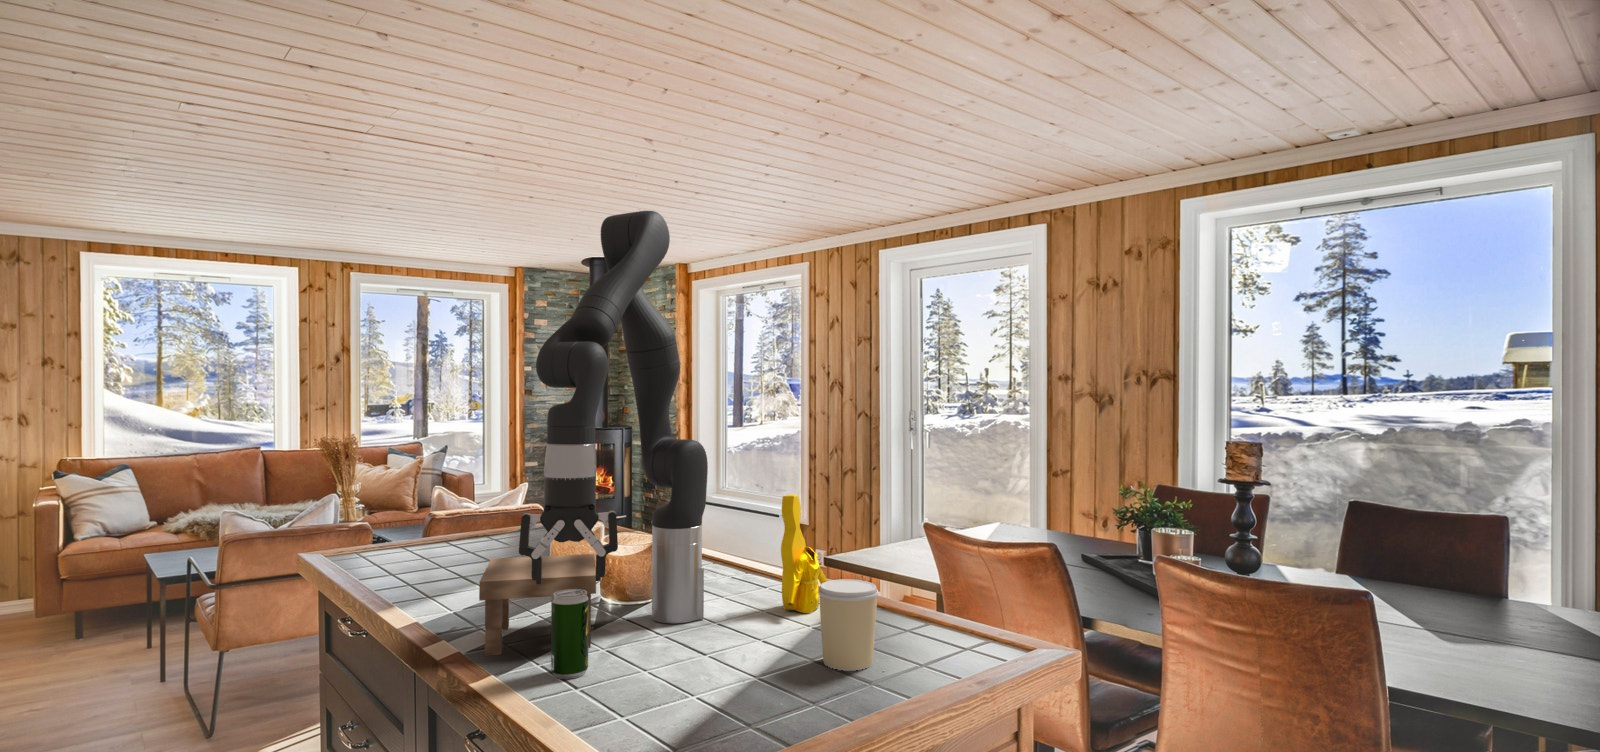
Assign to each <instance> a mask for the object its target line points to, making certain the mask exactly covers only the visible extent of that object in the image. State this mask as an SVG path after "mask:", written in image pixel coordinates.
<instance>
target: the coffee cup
mask: <svg viewBox="0 0 1600 752" xmlns="http://www.w3.org/2000/svg"><path fill="white" fill-rule="evenodd" d="M818 593H819V614H820V615H819V617H820V631H821V632H820V633H821V645H822V646H821V649H822V658H823V664H824V665H825V666H826V667H827V666H828V668H829V667H830V669H832V668H833V669H832V670H835V669H838V670H837V671H841V670H843V671H844V672H855V671H856V670H858V671H862V669H863V670H866V669H865V668H867V669H869V668H870V667H871V666H873V662H874V661H873V660H874V651H875V634H876V620H877V607H878V605H877V603H878V596H879V590H878V588H877V585H876V584H875V583H873V582H870V581H866V580H861V579H852V578H851V579H850V578H849V579H846V578H845V579H832V580H827V582H824V583H822V584H820V586H819V590H818ZM868 667H869V668H868ZM856 672H857V671H856Z"/></svg>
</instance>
